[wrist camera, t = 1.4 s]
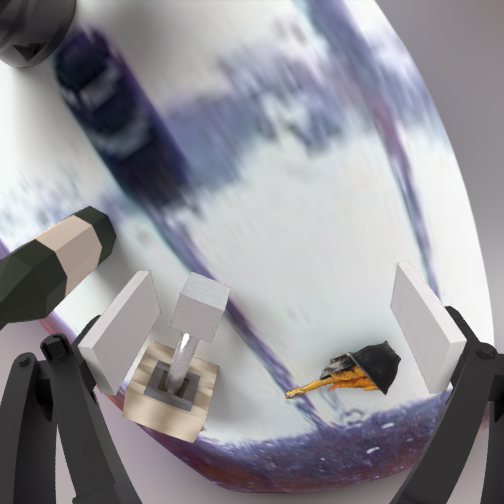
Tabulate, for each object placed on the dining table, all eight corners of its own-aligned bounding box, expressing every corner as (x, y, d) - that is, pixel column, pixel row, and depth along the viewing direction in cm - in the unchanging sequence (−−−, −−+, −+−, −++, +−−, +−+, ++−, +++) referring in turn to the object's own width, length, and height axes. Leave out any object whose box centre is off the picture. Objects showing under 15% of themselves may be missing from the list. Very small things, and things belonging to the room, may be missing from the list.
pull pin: (154, 393, 47) (145, 415, 43) (191, 271, 37) (180, 293, 32) (182, 403, 48) (175, 426, 43) (231, 286, 37) (224, 310, 33)
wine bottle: (113, 207, 40) (-57, 339, 12) (118, 262, 43) (-12, 415, 16) (67, 204, 40) (-93, 312, 13) (74, 255, 43) (-57, 381, 16)
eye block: (144, 369, 52) (122, 416, 41) (151, 337, 48) (126, 387, 38) (205, 392, 53) (193, 443, 42) (219, 364, 49) (207, 418, 39)
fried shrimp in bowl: (415, 374, 42) (330, 447, 42) (374, 334, 51) (298, 401, 51) (409, 358, 36) (308, 444, 37) (360, 312, 45) (272, 389, 45)
